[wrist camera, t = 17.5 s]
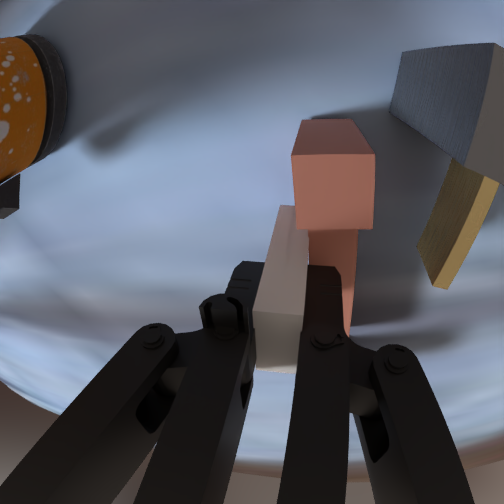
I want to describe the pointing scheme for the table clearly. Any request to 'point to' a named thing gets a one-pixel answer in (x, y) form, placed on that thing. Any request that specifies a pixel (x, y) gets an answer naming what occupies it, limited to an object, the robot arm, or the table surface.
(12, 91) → the canister
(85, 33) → the table surface
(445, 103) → the grey hammer
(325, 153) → the pink l-shaped bracket
